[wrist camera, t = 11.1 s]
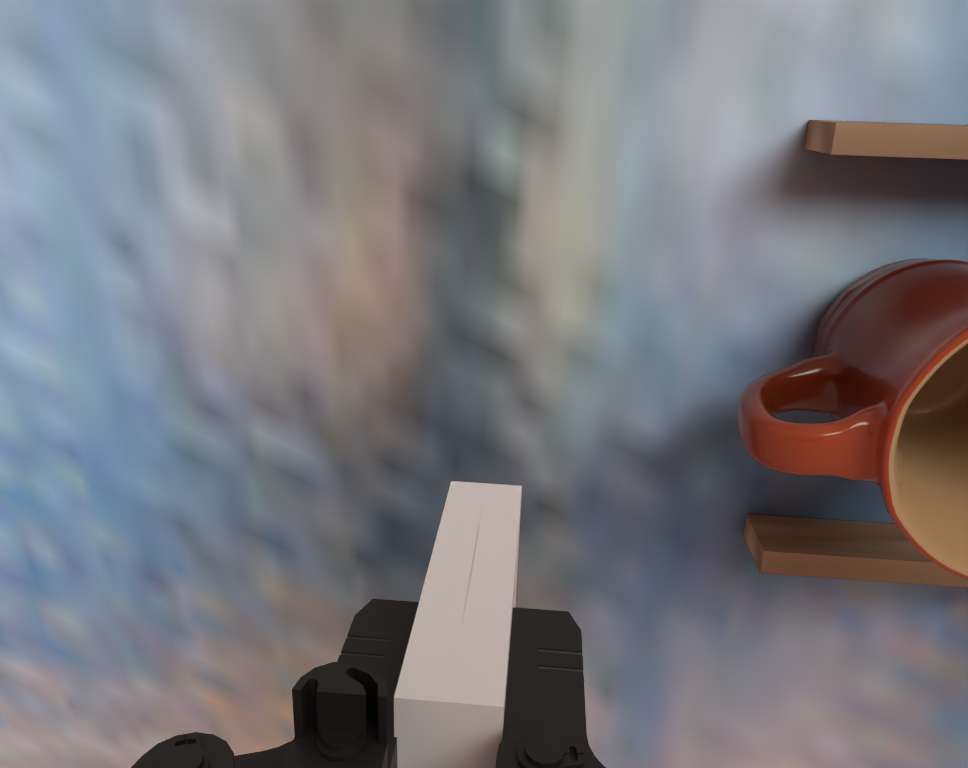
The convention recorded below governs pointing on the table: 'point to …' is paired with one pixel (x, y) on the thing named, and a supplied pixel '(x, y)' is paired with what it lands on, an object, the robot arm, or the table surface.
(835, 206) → the table surface
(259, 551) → the table surface
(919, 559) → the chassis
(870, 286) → the mug
